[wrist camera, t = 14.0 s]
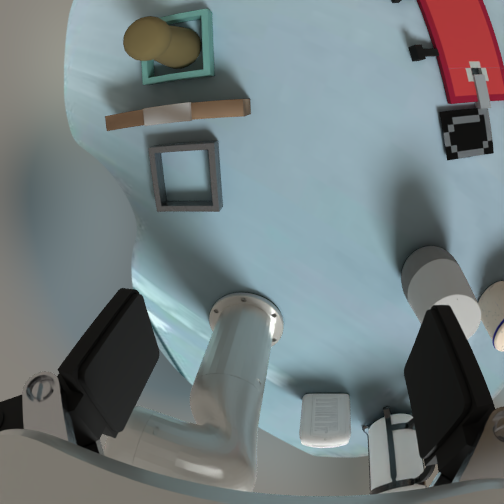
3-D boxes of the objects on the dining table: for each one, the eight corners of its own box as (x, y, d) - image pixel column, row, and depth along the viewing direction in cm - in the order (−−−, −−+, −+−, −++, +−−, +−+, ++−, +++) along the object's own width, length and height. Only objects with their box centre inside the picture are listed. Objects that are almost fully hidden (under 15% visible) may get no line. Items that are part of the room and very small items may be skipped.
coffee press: (424, 422, 62) (437, 523, 36) (366, 438, 67) (368, 538, 41) (422, 389, 55) (444, 511, 29) (354, 407, 60) (356, 530, 34)
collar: (214, 75, 34) (210, 74, 33) (149, 84, 36) (142, 84, 34) (211, 12, 30) (207, 8, 28) (147, 24, 31) (140, 22, 30)
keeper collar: (222, 206, 43) (219, 211, 41) (162, 206, 44) (157, 211, 42) (218, 140, 38) (214, 143, 37) (154, 145, 40) (148, 148, 38)
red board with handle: (432, 160, 35) (512, 148, 31) (441, 165, 32) (522, 152, 28) (369, -44, 23) (459, -39, 19) (373, -52, 20) (467, -45, 16)
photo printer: (301, 402, 61) (297, 451, 51) (302, 391, 59) (298, 442, 49) (348, 402, 60) (350, 450, 49) (350, 391, 58) (353, 441, 47)
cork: (151, 59, 34) (105, 54, 24) (171, 21, 31) (130, 4, 21) (187, 75, 35) (149, 71, 25) (209, 36, 32) (177, 19, 22)
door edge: (250, 114, 36) (242, 117, 32) (126, 126, 39) (105, 132, 34) (250, 98, 35) (241, 98, 30) (124, 112, 38) (103, 116, 33)
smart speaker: (396, 244, 41) (425, 303, 29) (451, 235, 39) (493, 288, 27) (397, 296, 45) (418, 361, 33) (447, 287, 43) (479, 346, 31)
